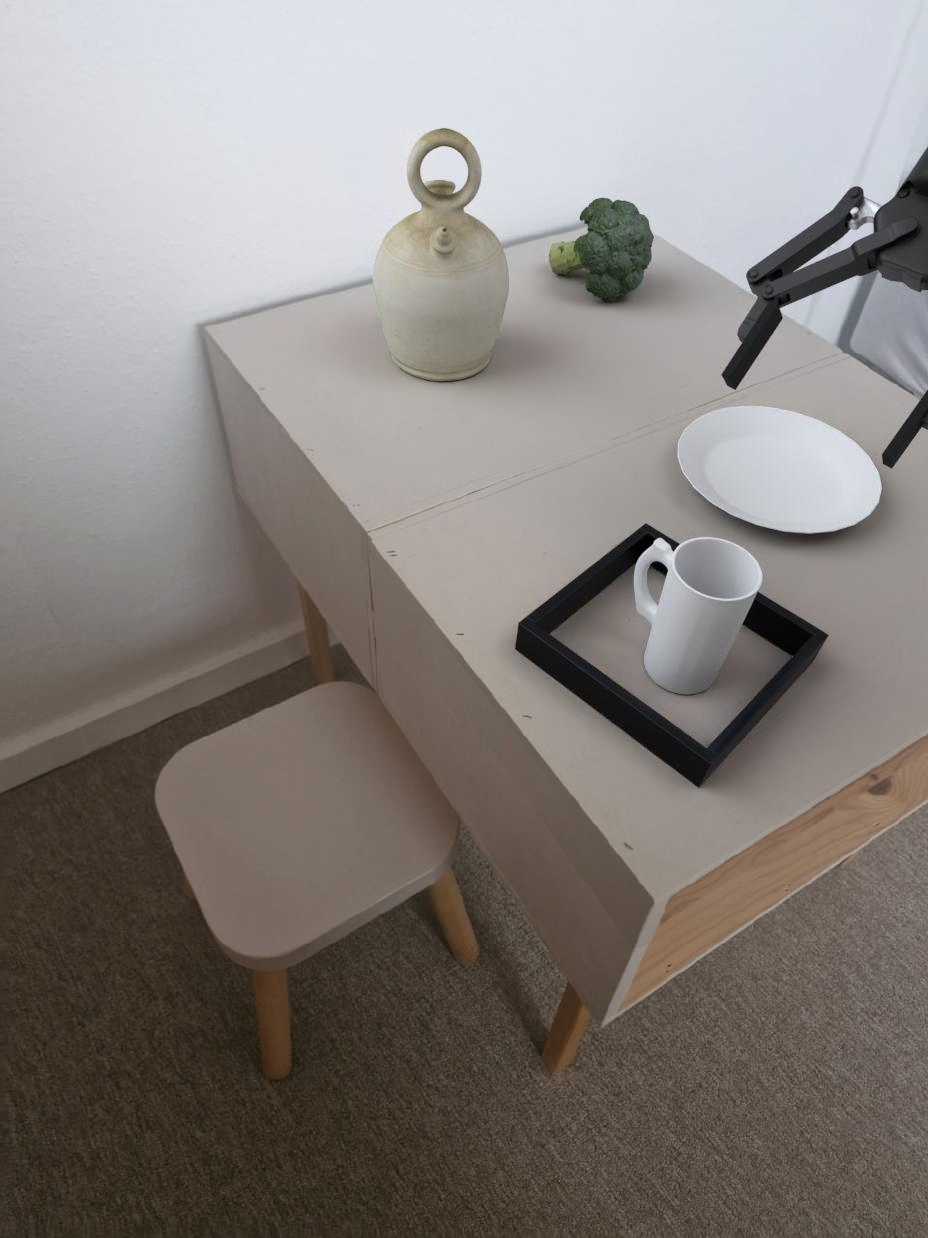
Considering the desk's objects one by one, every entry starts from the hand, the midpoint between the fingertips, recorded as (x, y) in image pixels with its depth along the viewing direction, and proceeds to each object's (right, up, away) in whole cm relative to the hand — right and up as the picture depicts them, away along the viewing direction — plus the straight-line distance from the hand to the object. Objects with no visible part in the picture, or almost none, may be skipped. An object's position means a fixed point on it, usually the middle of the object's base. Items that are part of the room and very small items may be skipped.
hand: (803, 420), depth 65 cm
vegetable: (-8, +30, +52) cm, 61 cm away
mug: (-9, -18, +9) cm, 22 cm away
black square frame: (-9, -18, +8) cm, 22 cm away
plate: (+7, -1, +25) cm, 26 cm away
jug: (-29, +17, +39) cm, 51 cm away
